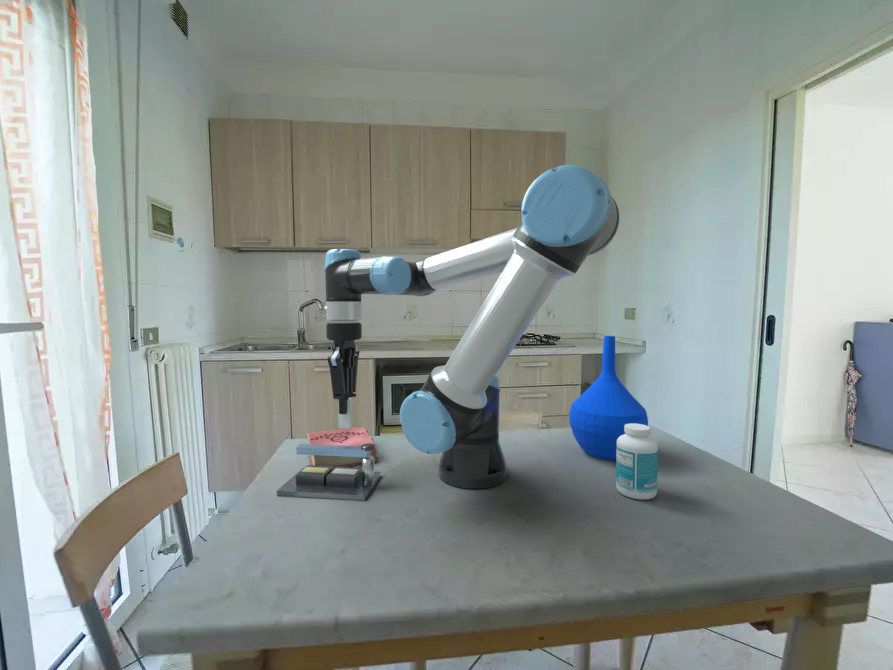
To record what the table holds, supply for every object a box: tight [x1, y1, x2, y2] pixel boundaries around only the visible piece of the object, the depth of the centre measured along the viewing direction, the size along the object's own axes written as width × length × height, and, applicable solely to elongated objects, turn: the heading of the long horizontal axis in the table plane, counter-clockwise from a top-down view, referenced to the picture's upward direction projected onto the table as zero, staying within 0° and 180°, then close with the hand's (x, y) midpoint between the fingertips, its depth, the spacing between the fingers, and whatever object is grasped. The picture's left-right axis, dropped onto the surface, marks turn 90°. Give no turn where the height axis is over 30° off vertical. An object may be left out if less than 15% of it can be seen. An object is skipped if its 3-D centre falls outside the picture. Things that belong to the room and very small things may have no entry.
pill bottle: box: [615, 423, 659, 501], centre depth 79 cm, size 8×7×14 cm
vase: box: [568, 335, 649, 462], centre depth 99 cm, size 18×18×30 cm
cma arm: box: [296, 443, 375, 457], centre depth 82 cm, size 16×3×2 cm, turn 83°
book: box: [307, 426, 377, 468], centre depth 99 cm, size 14×15×5 cm
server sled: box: [276, 456, 382, 501], centre depth 83 cm, size 18×11×6 cm, turn 83°
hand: (345, 426), depth 89 cm, fingers closed
